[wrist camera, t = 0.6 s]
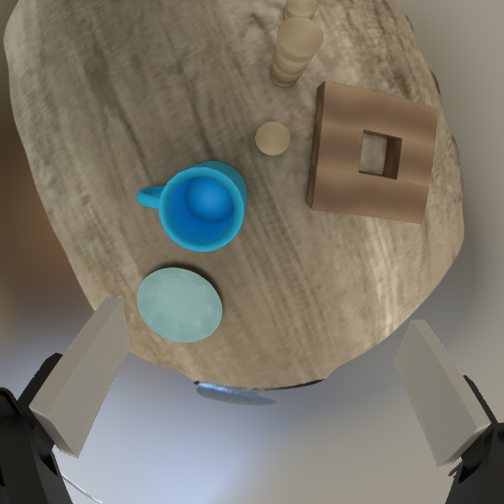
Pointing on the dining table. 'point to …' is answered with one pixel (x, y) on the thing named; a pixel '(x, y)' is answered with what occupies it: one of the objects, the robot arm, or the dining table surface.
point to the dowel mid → (272, 138)
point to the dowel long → (294, 49)
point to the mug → (200, 205)
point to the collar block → (349, 152)
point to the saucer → (179, 305)
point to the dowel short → (300, 8)
